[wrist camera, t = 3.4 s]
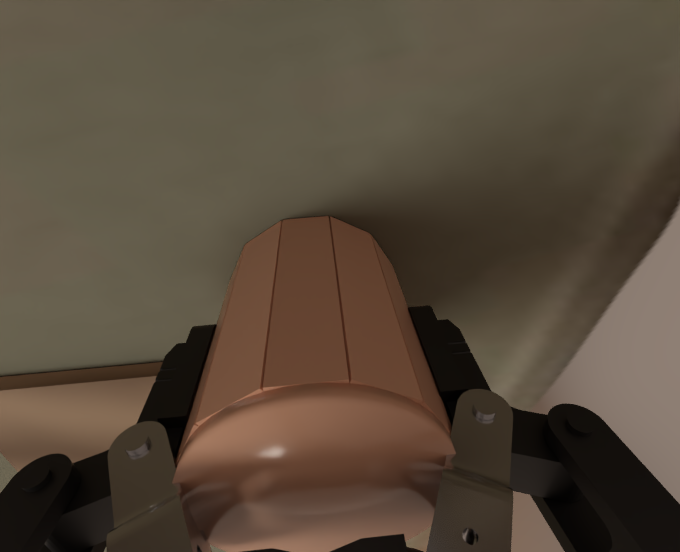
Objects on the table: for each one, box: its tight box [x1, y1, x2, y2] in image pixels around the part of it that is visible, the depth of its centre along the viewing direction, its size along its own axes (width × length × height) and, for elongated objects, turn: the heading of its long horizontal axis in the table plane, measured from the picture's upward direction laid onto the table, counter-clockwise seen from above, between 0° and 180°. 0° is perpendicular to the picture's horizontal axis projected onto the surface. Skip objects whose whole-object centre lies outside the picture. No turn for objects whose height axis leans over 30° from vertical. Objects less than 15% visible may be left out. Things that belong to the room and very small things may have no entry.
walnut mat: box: [0, 362, 163, 472], centre depth 19 cm, size 10×12×1 cm
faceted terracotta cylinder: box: [172, 216, 456, 552], centre depth 12 cm, size 6×6×8 cm
